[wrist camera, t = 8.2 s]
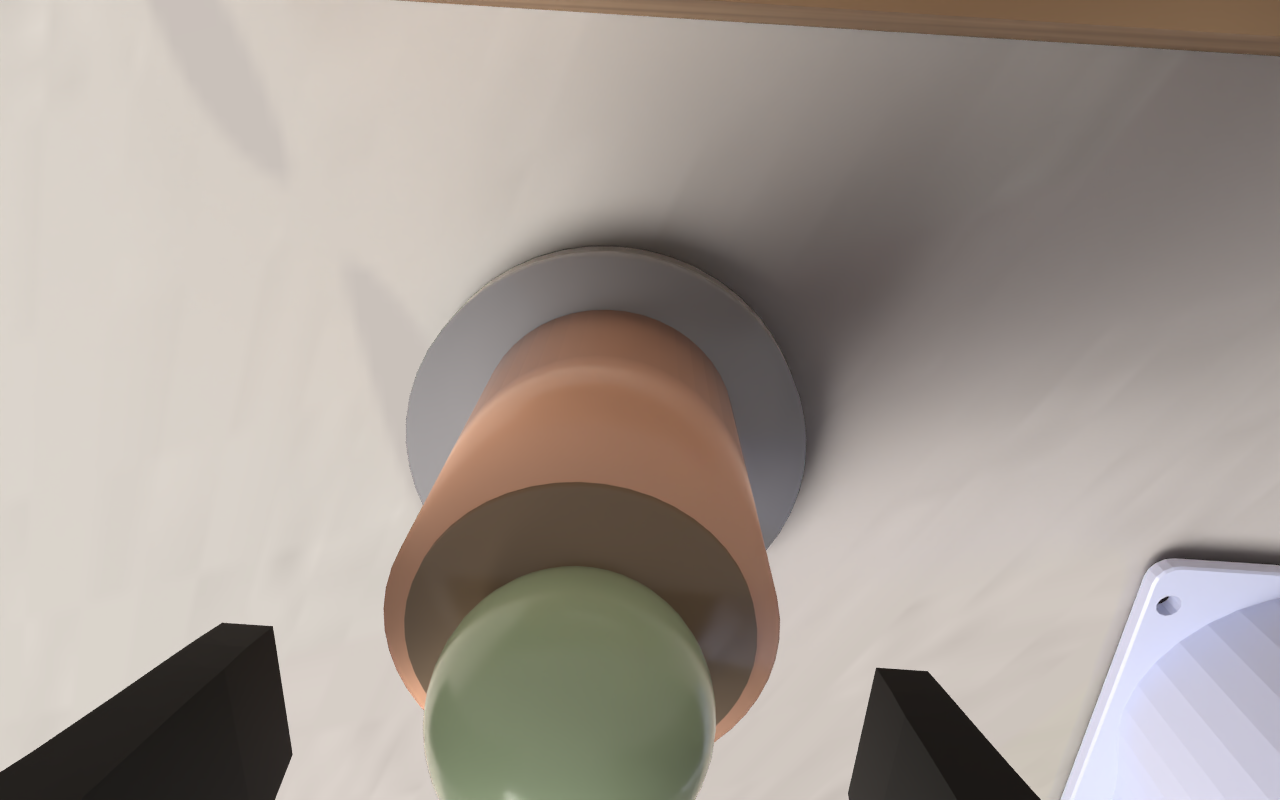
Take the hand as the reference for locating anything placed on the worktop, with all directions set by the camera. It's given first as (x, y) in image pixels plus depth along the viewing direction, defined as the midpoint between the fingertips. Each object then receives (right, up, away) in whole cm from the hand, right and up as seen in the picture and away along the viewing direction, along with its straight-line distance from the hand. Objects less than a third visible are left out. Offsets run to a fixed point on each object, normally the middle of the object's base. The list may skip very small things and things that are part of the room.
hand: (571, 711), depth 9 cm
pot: (0, +3, +6) cm, 7 cm away
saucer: (0, +3, +7) cm, 8 cm away
